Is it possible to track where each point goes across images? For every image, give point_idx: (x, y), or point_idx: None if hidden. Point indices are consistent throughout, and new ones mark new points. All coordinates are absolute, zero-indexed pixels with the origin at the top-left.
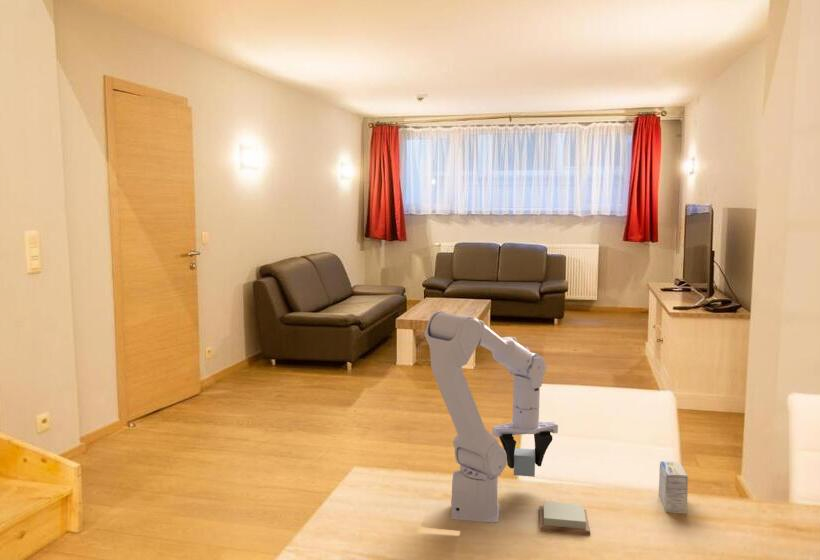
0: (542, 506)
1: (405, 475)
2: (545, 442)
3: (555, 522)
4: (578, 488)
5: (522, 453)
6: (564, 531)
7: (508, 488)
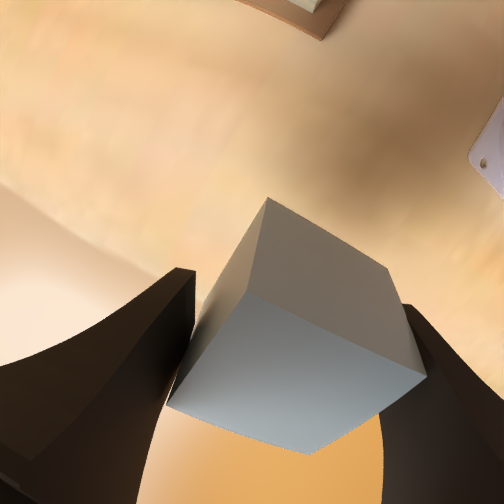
0: (309, 26)
1: None
2: (30, 405)
3: None
4: (55, 189)
5: (327, 390)
6: None
7: None
